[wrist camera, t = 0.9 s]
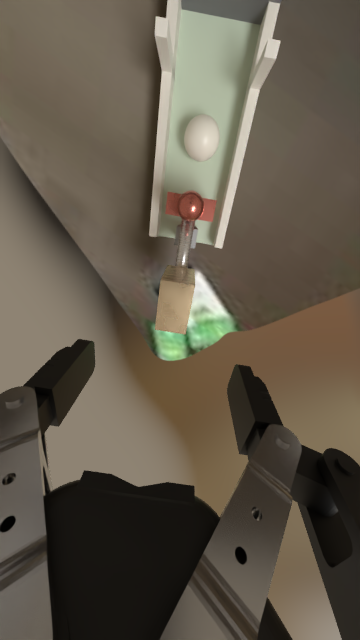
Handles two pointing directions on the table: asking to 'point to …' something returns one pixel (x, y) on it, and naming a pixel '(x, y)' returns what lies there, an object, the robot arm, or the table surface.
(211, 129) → the ball
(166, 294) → the striker
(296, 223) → the table surface
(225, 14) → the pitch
